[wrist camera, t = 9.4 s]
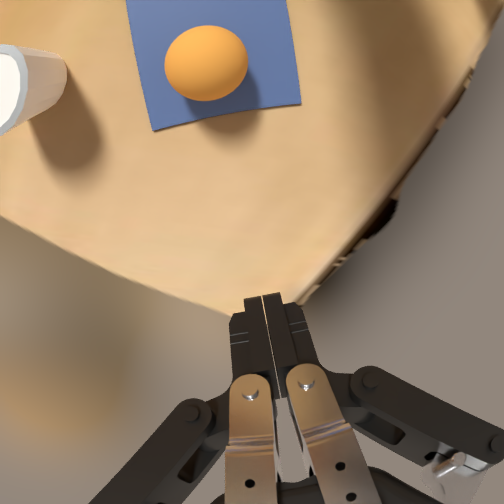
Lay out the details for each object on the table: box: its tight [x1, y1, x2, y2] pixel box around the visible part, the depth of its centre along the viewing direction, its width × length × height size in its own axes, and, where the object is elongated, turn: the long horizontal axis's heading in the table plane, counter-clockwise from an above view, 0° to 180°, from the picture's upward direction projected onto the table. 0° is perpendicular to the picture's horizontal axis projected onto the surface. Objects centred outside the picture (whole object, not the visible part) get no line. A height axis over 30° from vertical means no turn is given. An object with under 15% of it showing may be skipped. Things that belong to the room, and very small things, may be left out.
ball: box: [164, 25, 248, 101], centre depth 16 cm, size 6×6×6 cm
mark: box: [126, 0, 301, 131], centre depth 18 cm, size 12×12×1 cm
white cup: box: [0, 44, 67, 136], centre depth 14 cm, size 7×7×7 cm
